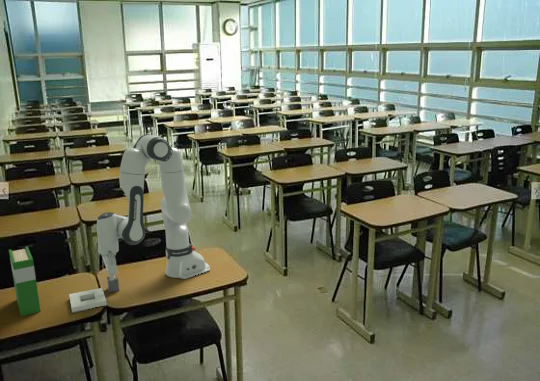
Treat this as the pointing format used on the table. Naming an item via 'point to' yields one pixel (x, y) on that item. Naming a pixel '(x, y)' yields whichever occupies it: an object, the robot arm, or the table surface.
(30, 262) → the hardback book
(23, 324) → the table surface
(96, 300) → the socket plate
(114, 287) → the plug
